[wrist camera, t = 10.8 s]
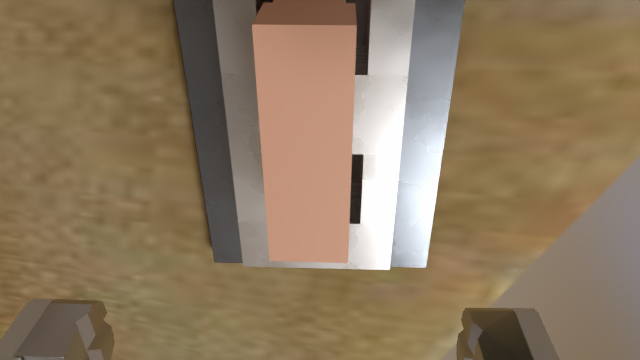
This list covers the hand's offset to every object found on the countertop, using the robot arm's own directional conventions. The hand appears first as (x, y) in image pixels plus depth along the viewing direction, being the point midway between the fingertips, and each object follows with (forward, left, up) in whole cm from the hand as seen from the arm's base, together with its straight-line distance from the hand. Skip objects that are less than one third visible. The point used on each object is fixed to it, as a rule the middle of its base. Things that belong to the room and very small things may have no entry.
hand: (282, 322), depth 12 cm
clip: (0, 0, -14) cm, 14 cm away
